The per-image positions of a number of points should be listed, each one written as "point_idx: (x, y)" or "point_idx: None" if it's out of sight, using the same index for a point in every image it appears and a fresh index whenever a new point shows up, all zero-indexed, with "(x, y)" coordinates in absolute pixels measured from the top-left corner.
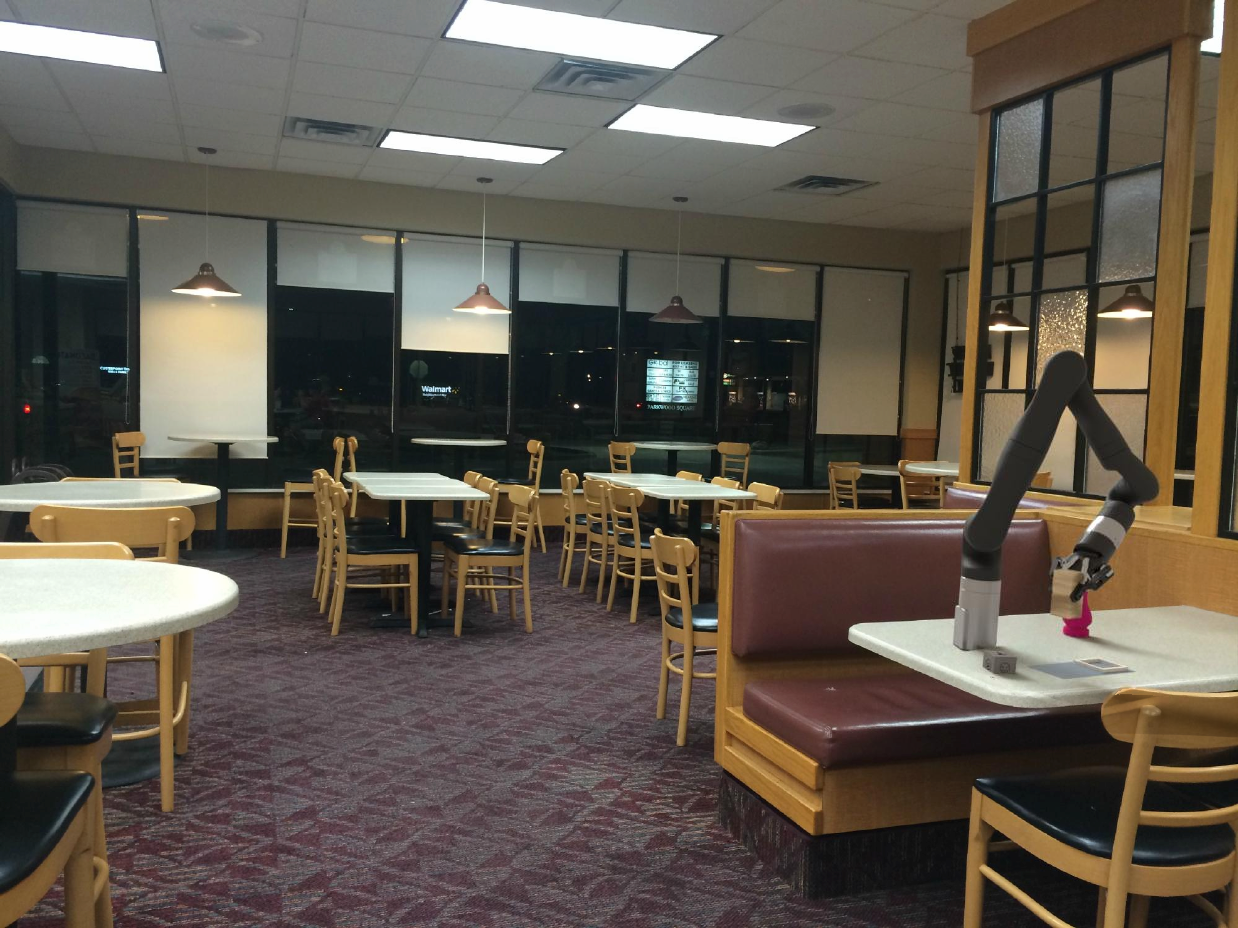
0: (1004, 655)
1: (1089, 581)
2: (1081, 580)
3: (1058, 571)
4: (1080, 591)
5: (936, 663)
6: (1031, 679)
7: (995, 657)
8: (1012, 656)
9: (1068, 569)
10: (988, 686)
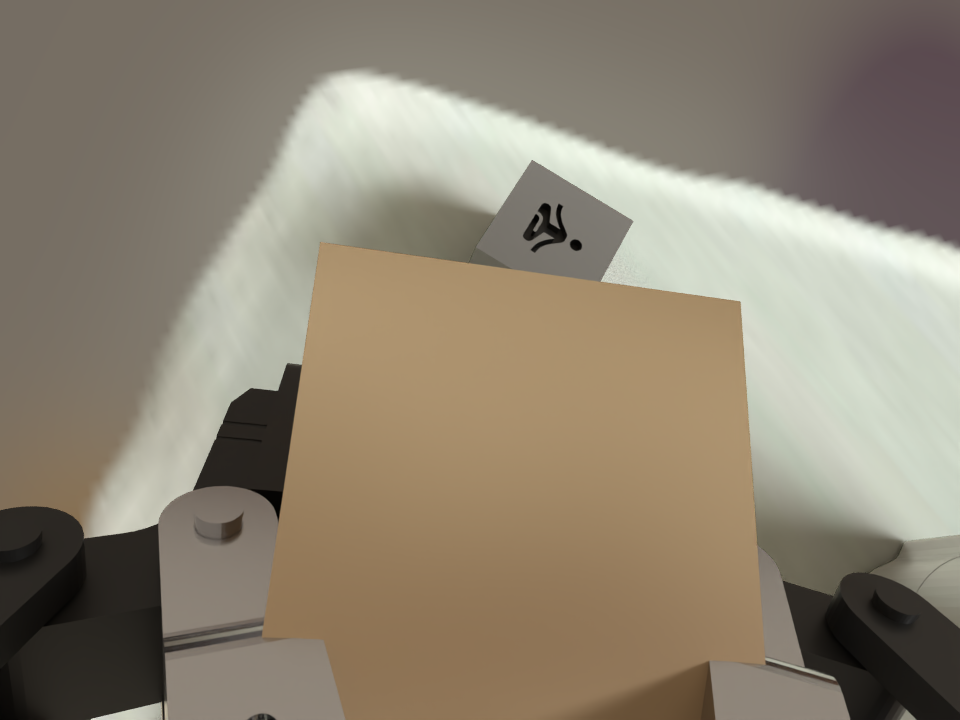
0: (523, 219)
1: (63, 541)
2: (248, 536)
3: (639, 298)
4: (216, 444)
5: (755, 219)
6: None
7: (528, 167)
8: (492, 238)
9: (695, 718)
10: (442, 104)
